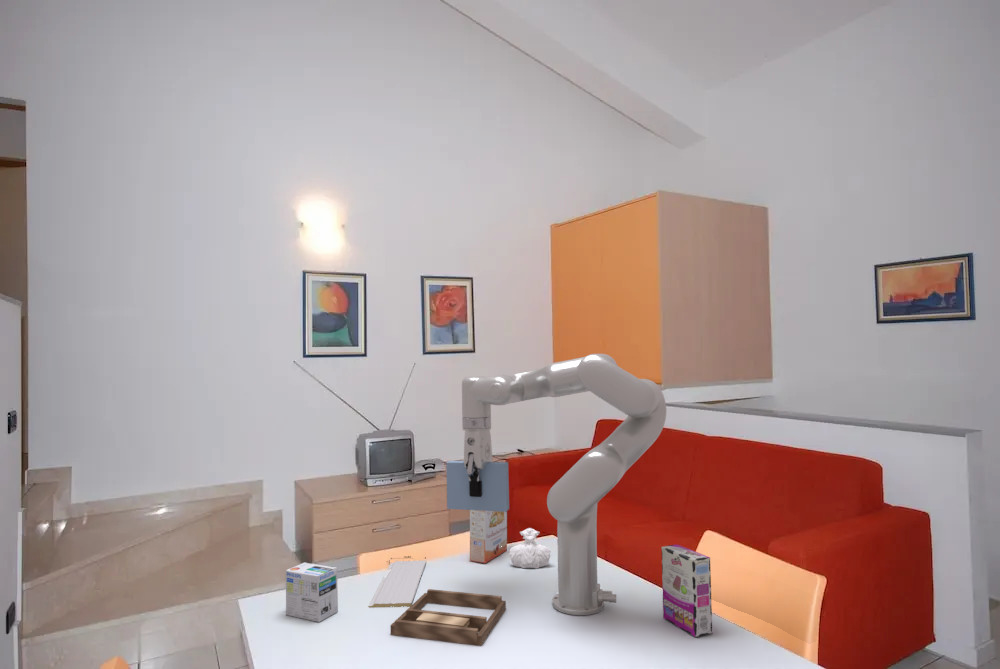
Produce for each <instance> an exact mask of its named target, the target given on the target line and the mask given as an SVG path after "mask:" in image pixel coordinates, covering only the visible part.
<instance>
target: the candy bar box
mask: <svg viewBox="0 0 1000 669" xmlns="http://www.w3.org/2000/svg"><path fill="white" fill-rule="evenodd" d="M660 548H661V574H662V575H661V580H662V582H661V583H662V615H663V616H662V618H663V619H664V620H666V621H667V622H668V623H670V624H672V625H673V626H676V627H678V628H679V629H681V630H683V631H684V632H685V633H687V634H690V635H691V636H693V637H694V638H700V637H703V636H707V635H708V636H709V635H712V634H713V613H712V612H713V610H712V609H713V608H712V583H711V582H712V581H711V580H712V576H711V574H712V573H711V571H712V570H711V557H710V556H707V555H705V554H703V553H701V552H697V551H695V550H693V549H690V548H688V547H684V546H682V545H680V544H671V545H664V546H661V547H660Z"/></svg>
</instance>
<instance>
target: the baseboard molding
mask: <svg viewBox="0 0 1000 669" xmlns="http://www.w3.org/2000/svg"><path fill="white" fill-rule="evenodd" d="M393 559H394V560H395V559H397V560H395V561H394V562H391V561H390V560H393ZM398 559H399V560H400V559H402V558H401V557H398V558H397V557H396V558H395V557H393V558H392V557H391V558H390V559H389V560H388V561H386V563H388V565H389V566H388V567H387V569H386V571H387V570H390V569H391V571H390V572H389V573H388V575H387V577H386V578H384V576H383V577H382V580H381V581H380V583H379V585H378V587H377V589H376V591H375V592H374V594H373V596H372V598H371V600H370V602H369V604H368V605H367V607H369V608H405V607H404V606H407V607H406V608H409V607H411V606H412V605H413V602H414V598H415V597H416V596H415V595H416V592H417V590H418V587H419V585H420V582H419V581H421V579H420V578H422V576H423V573H422V572H424V569H425V567H426V564H427V560H400V561H399V560H398ZM404 559H412V555H408V556H406V555H405V556H404ZM424 559H427V557H426V556H425V557H424ZM425 563H426V564H425ZM421 575H422V576H421ZM390 606H392V607H390ZM393 606H394V607H393ZM401 606H403V607H401Z"/></svg>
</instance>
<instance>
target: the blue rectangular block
mask: <svg viewBox="0 0 1000 669" xmlns="http://www.w3.org/2000/svg"><path fill="white" fill-rule="evenodd" d="M474 468H476V469H478V468H477V467H474ZM474 472H476V473H477V471H474ZM509 480H510V479H509V461H492V462H488V463H486V468H485V469H483V470H480V481H482V496H481V497H471V496H470V495H469V475H468V474H467V469H466V468H465V466H464V460H449V461H446V505H447V506H446V509H448V510H462V511H463V510H465V511H466V510H467V511H470V510H480V511H500V512H507V513H508V511H509V510H510V485H509V484H510V482H509Z"/></svg>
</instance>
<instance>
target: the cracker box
mask: <svg viewBox="0 0 1000 669" xmlns="http://www.w3.org/2000/svg"><path fill="white" fill-rule="evenodd" d="M507 527H508V511H507V512H500V511H480V510H469V561H470V562H476V563H480V564H487V563H488V562H490V561H492V560H494V559H495V558H496V557H498V556H500V555H502V554H503V552H504V553H505V552H507V550H508V528H507ZM501 546H502V547H501Z"/></svg>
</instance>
